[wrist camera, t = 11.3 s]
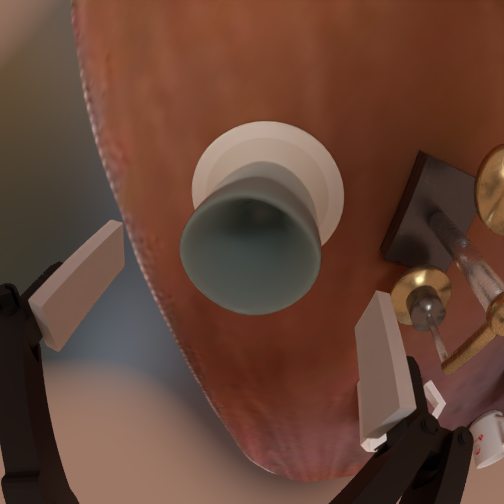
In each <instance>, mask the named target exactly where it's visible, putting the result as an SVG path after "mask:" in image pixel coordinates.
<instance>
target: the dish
mask: <svg viewBox="0 0 504 504" xmlns="http://www.w3.org/2000/svg"><path fill="white" fill-rule="evenodd" d="M255 161H270V162H276V163H278V164H280V165H283V166H285V167H286V168H288V169H289V170H291V171H292V172H293V173H294V174H296V175H297V176H298V177H299V178H300V179H301V180H302V182H303V183H304V184H305V186H306V187H307V189H308V191H309V193H310V195H311V197H312V199H313V201H314V204H315V208H316V212H317V216H318V221H319V227H320V236H321V246H322V245H324V244H325V243H326V242H327V240H328V239H329V238H330V237H331V235H332V234H333V232H334V231H335V229H336V227H337V225H338V223H339V221H340V218H341V215H342V211H343V205H344V188H343V182H342V178H341V175H340V172H339V170H338V167H337V165H336V163H335V161H334V159H333V158H332V156H331V154H330V153H329V151H328V150H327V149H326V148H325V147H324V146H323V144H322V143H320V142H319V141H318V140H317V139H316V138H315V137H314V136H312V135H311V134H309V133H308V132H306V131H304V130H302V129H300V128H298V127H296V126H293V125H290V124H287V123H282V122H277V121H255V122H250V123H246V124H243V125H240V126H237V127H235V128H233V129H231V130H229V131H227V132H226V133H224V134H222V135H221V136H220V137H218V138H217V139H216V140H215V141H214V142H213V143H212V144H211V145H210V146H209V147H208V148H207V149H206V151H205V152H204V153H203V155H202V156H201V158H200V160H199V162H198V164H197V167H196V169H195V172H194V177H193V182H192V200H193V205H194V209H196V208H197V207H198V206H199V205H200V203H201V202H202V201H203V200H204V199H205V197H206V196H207V195H208V194H209V193H210V192H211V190H212V189H213V188H214V187H215V186H216V185H217V184H218V183H219V182H220V181H221V180H222V179H223V178H224V177H226V176H227V175H228V174H230V173H231V172H232V171H234V170H235V169H237V168H239V167H241V166H243V165H245V164H248V163H252V162H255Z"/></svg>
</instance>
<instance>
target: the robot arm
mask: <svg viewBox="0 0 504 504" xmlns="http://www.w3.org/2000/svg"><path fill="white" fill-rule="evenodd" d="M124 266H125V261H124V239H123V223H121V222H118V221H114V220H110V221H109V222H108V223H107V224H105V225H104V226H103V227H102V228H101V229H100V230H99V231H97V232H96V233H95V234H94V235H93V236H92V237H91V238H90V239H89V240H88V241H86V242H85V243H84V244H83V245H82V246H81V247H80V248H79V249H78V250H77V251H76V252H75V253H74V254H73V255H72V256H70V257H69V258H68V259H67V260H66V261H65V263H62V262H57V263H55V264H53V265H51V266H50V267H49V268H48V269H47V270H46V271H45V272H44V273H43V275H41V276H40V277H39V278H38V280H36V281H35V282H34V283H33V284H32V285H31V286H30V287H29V288H28V289H27V290H26V291H25V292H24V293H23V294H22V295H21V296H19V293H18V290H17V288H16V286H15V285H13V284H11V283H5V284H2V285H0V445H1V451H2V456H3V462H4V467H5V475H4V476H3V478H2V480H1V486H2V491H3V495H4V499H5V502H6V504H79V502H78V500H77V498H76V496H75V495H74V493H73V492H72V491H71V489H70V487H69V484H68V482H67V479H66V476H65V472H64V469H63V466H62V463H61V459H60V456H59V452H58V448H57V445H56V441H55V437H54V433H53V428H52V423H51V419H50V414H49V408H48V403H47V397H46V390H45V385H44V377H43V368H42V359H41V347H40V344H39V341H40V340H41V338H42V337H43V339H44V341H45V343H46V345H47V346H49V347H51V348H52V349H54V350H56V351H58V352H59V351H60V350H61V349H62V347H63V346H64V344H65V343H66V342H67V340H68V339H69V337H70V336H71V335H72V333H73V332H74V330H75V329H76V328H77V326H78V325H79V324H80V322H81V321H82V319H83V318H84V317H85V315H86V314H87V313H88V311H89V310H90V309H91V308H92V306H93V305H94V304H95V302H96V301H97V299H98V298H99V297H100V296H101V295H102V293H103V292H104V291H105V290H106V288H107V287H108V286H109V285H110V283H111V282H112V281H113V279H114V278H115V277H116V276H117V275H118V274H119V272H120V271H121V270H122V269H123V267H124ZM355 337H356V345H357V355H358V365H359V376H360V389H361V404H362V423H363V438H370V439H379V438H380V437H382V436H383V435H384V434H386V438H387V440H386V441H385V442H383V443H382V444H380V445H379V446H378V447H376V448H375V449H374V451H376V450H377V451H376V452H375V454H374V455H373V456H372V457H371V459H370V460H369V461H368V462H367V463H366V464H365V466H364V467H363V468H362V469H361V470H360V471H359V472H358V474H357V475H356V476H355V477H354V478H353V479H352V480H351V482H349V483H348V485H347V486H346V487H345V488H344V489H343V490H342V491H341V492H340V493H339V494H338V495H337V496H336V497H335V498H334V499H333V500H332V501H331V502H330V503H329V504H396V503H397V501H398V500H399V498H400V497H401V496H402V497H401V500H400V502H399V504H460V502H461V498H462V495H463V491H464V487H465V483H466V479H467V475H468V471H469V466H470V461H471V456H472V450H473V444H474V439H473V435H472V433H471V432H470V430H469V429H468V428H466V427H463V426H461V427H458V428H456V429H455V430H454V431H451V430H448V429H445V428H442V427H440V425H439V422H438V420H437V419H436V418H435V417H434V416H433V415H432V414H430V413H429V412H428V407H427V401H426V396H425V392H424V387H423V385H422V384H423V383H422V378H421V374H420V370H419V366H418V364H417V363H416V361H415V359H414V358H413V357H411V356H406V354H405V350H404V346H403V342H402V338H401V334H400V330H399V326H398V322H397V319H396V315H395V312H394V308H393V305H392V301H391V298H390V294H389V293H385V292H381V291H377V290H376V292H375V294H374V295H373V297H372V299H371V301H370V302H369V304H368V306H367V308H366V309H365V311H364V313H363V314H362V316H361V318H360V319H359V321H358V323H357V324H356V326H355ZM402 494H403V495H402Z"/></svg>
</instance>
